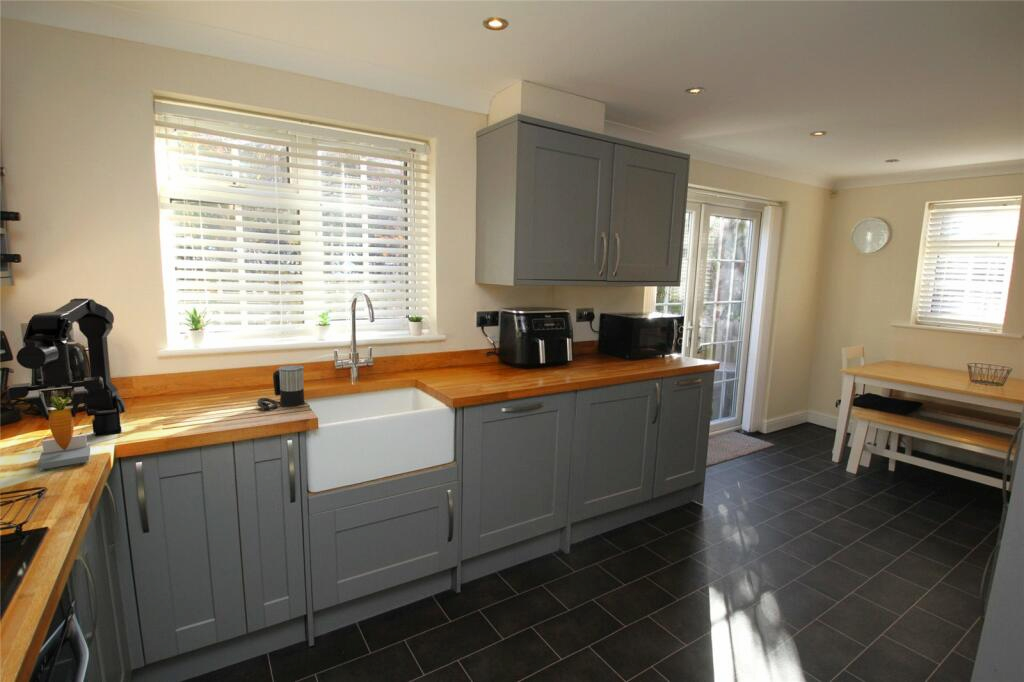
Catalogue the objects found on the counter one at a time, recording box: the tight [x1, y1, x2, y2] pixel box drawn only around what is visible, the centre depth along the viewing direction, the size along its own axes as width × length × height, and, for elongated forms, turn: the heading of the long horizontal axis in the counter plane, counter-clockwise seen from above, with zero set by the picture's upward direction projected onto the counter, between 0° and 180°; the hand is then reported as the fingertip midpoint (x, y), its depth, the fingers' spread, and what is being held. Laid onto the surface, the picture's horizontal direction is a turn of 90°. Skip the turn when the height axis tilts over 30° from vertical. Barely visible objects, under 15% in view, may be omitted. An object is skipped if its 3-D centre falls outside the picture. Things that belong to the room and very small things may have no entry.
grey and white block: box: [37, 433, 91, 471], centre depth 135 cm, size 10×10×6 cm
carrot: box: [48, 396, 75, 450], centre depth 134 cm, size 5×5×15 cm
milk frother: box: [256, 365, 306, 410], centre depth 193 cm, size 14×16×15 cm
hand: (61, 418), depth 134 cm, fingers closed on carrot, 5 cm apart
